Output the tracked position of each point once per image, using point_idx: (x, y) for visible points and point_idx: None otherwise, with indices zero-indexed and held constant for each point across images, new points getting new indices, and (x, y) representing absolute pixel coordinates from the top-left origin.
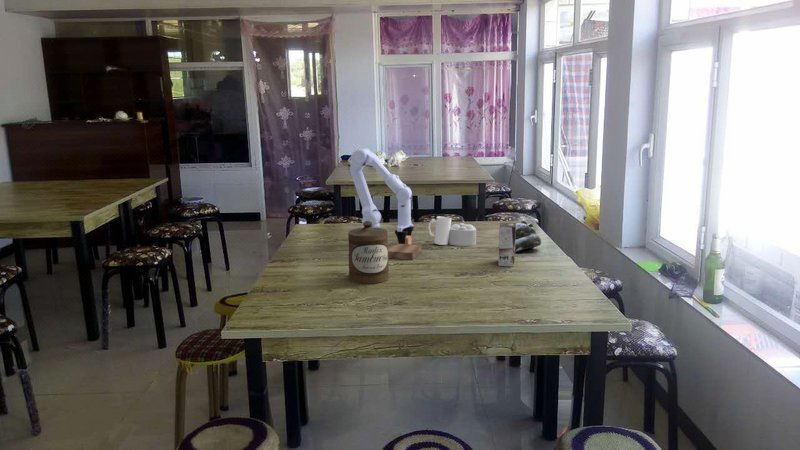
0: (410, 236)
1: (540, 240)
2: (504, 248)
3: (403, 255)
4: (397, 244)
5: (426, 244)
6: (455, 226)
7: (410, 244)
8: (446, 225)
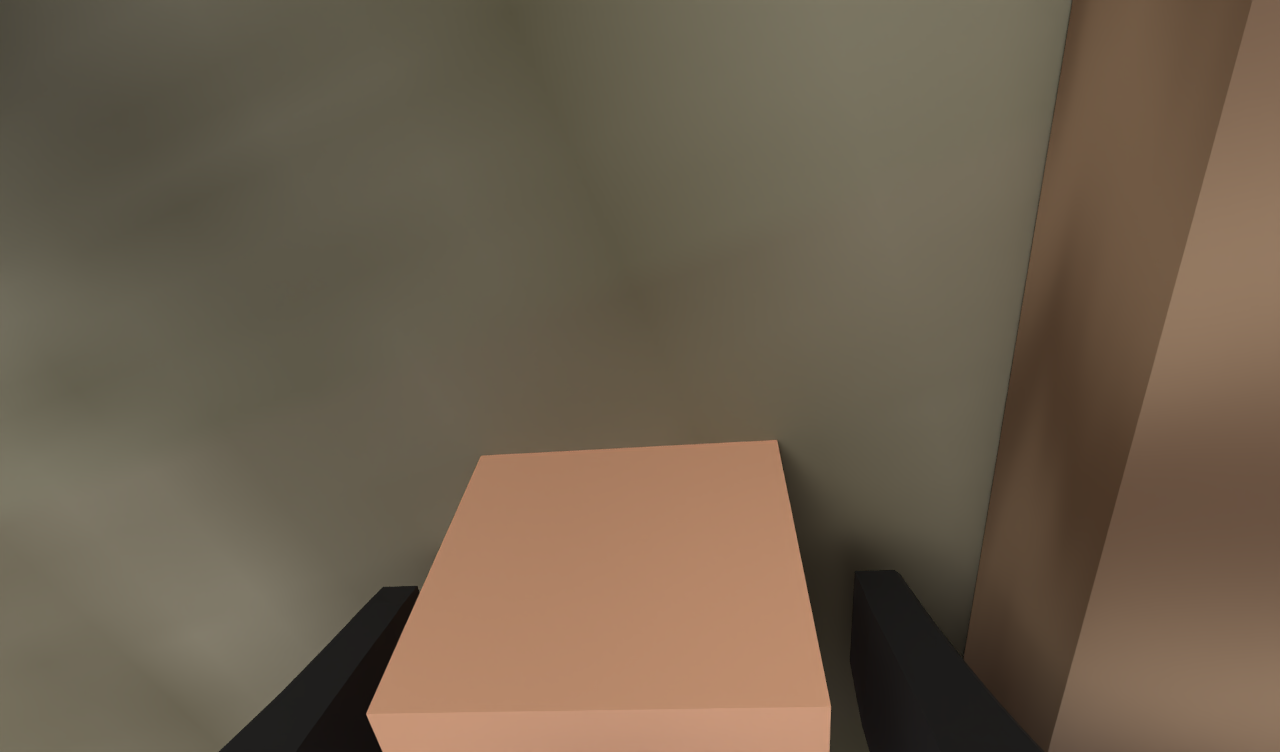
0: (480, 716)
1: None
2: None
3: None
4: (1169, 737)
5: (19, 164)
6: None
7: (561, 499)
8: None
